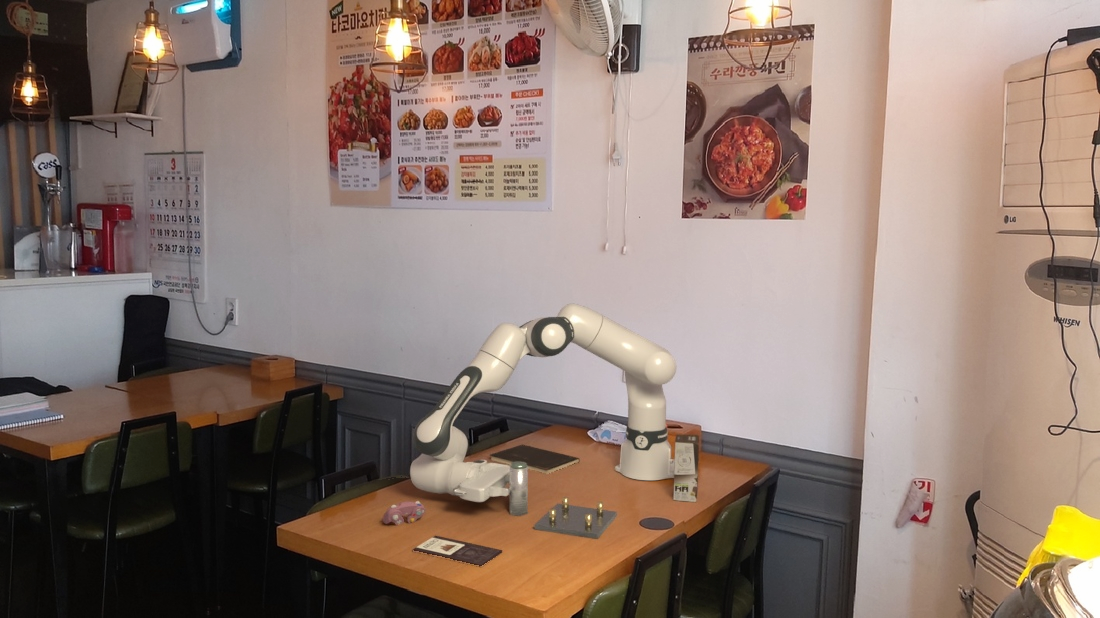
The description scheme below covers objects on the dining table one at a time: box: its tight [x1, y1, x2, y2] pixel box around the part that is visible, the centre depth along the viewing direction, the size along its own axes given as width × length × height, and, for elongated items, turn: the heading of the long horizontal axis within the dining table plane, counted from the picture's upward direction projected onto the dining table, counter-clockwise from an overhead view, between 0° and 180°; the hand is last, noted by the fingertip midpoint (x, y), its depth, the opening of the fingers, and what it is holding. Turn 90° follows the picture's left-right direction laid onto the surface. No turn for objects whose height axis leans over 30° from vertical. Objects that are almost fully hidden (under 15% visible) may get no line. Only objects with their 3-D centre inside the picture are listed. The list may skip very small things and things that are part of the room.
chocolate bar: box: [412, 535, 503, 566], centre depth 182 cm, size 9×1×18 cm
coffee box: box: [672, 434, 700, 503], centre depth 220 cm, size 9×6×16 cm
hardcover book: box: [489, 444, 581, 475], centre depth 252 cm, size 16×23×2 cm
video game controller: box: [382, 500, 426, 526], centre depth 199 cm, size 10×5×7 cm, turn 118°
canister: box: [509, 461, 529, 517], centre depth 207 cm, size 5×5×13 cm
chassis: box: [533, 496, 618, 540], centre depth 200 cm, size 16×16×4 cm
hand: (516, 486), depth 207 cm, fingers open, 8 cm apart
